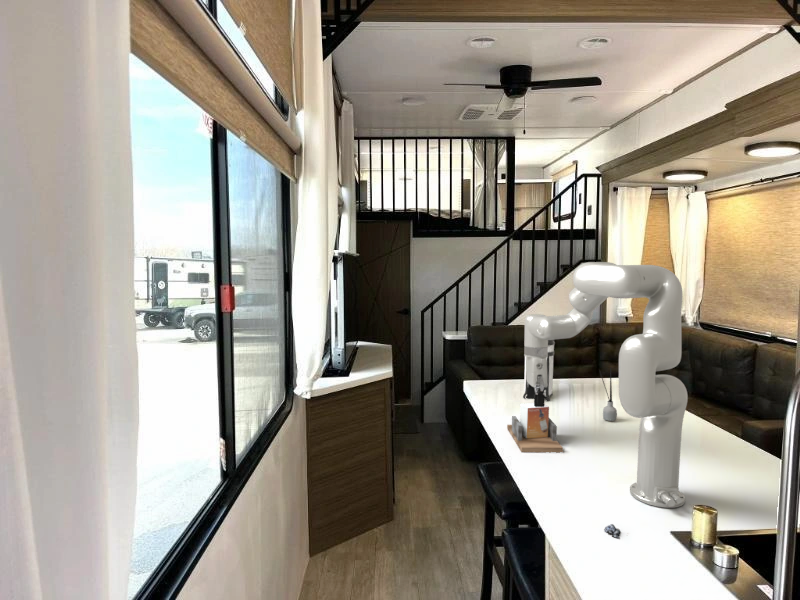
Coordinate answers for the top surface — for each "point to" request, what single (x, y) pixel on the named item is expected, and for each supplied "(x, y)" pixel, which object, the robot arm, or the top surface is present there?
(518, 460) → the top surface
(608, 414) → the reed diffuser
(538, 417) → the small box
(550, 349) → the coffee press
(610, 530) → the blueberries
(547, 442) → the holder stand
